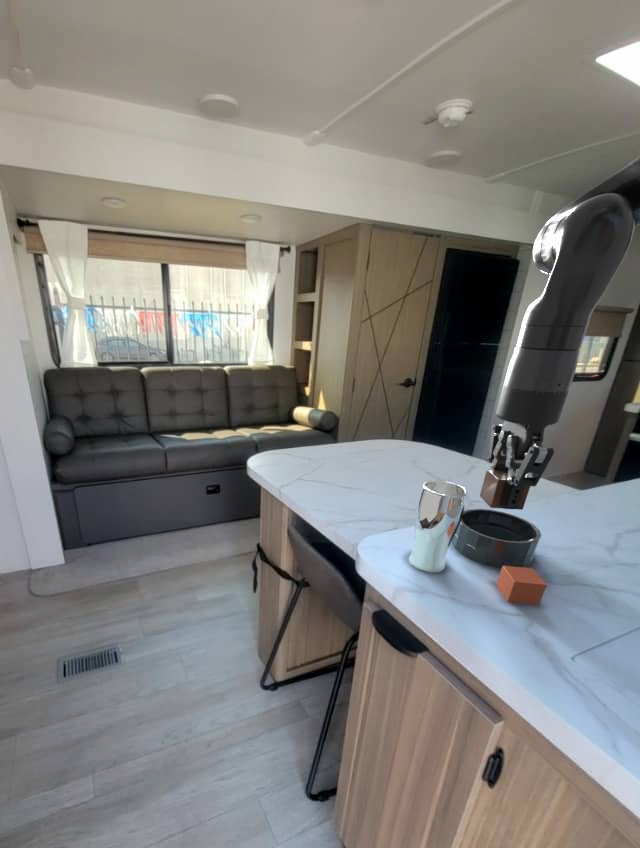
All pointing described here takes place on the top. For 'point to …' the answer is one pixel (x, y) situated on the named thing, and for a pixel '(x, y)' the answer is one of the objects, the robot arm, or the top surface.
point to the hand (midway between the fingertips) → (501, 500)
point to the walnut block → (498, 488)
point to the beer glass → (436, 523)
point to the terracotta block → (521, 585)
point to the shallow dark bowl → (496, 538)
